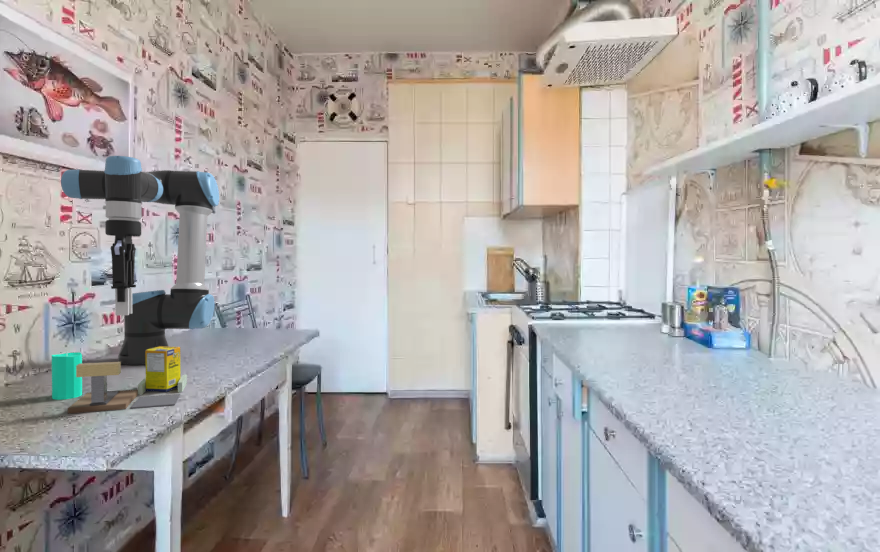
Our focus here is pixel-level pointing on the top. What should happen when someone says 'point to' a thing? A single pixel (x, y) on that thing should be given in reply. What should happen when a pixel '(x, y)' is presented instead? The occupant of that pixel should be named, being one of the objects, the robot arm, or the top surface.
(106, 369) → the t key
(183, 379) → the clip holder
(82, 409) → the board
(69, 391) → the candle
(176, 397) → the mat
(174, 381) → the supplement box
